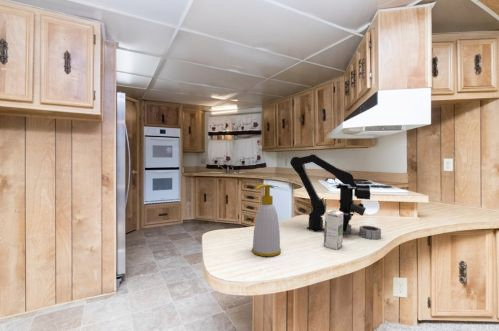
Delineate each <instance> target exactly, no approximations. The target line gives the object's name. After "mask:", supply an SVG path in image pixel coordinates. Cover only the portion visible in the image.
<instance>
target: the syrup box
mask: <svg viewBox="0 0 499 331" xmlns="http://www.w3.org/2000/svg"><path fill="white" fill-rule="evenodd" d="M323 229H324V230H323V232H324V234H323V247H326V248H329V249H333V250H339V249H340V248H341V247H342V246H343V235H344V234H343V212H340V211H339V210H335V209H331V210H330V209H329V210H328V211H325V214H324V228H323Z"/></svg>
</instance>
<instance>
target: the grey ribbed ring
mask: <svg viewBox="0 0 499 331" xmlns="http://www.w3.org/2000/svg"><path fill="white" fill-rule="evenodd" d="M358 231H359V237H361V238H363V239H365V240H366V239H367V240H374V241H375V240H376V241H377V240H381V238H382V228H379V227H378V226H372V225H360V226H359V230H358Z"/></svg>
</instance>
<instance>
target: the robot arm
mask: <svg viewBox="0 0 499 331" xmlns="http://www.w3.org/2000/svg"><path fill="white" fill-rule="evenodd" d="M310 163H313V164H315V165H316V166H318V167H320V168H321V169H323V170H325V171H327V172H328V173H330V174H331V175H333V176H334V177H335V178H336V179H337V180H338V181H339V182H340V183H339V184H338V185H337V186H336V187H335V188H336V189H339V200H338V202H339V208H338V211H340V212H343V231H345V232H346V229H347V225H348V224H350V221H351V220H352V219H353V218H352V217H353V216H354V215H355V213H356V214H358V215H359V216H364V215H365V212H366V207H364V204H363V203H362V202H360V203H359V204H357V203H355V200H354V198H353V196H354V197H355V198H356V199H357V200H371V185H369V184H357V182H356V181H355V180H354V176H353V174H352V173H351V172H350V171H348V170H344V169H341V168H339V167H336V166H335V165H333V164H331V163H330V162H328V161H326V160H324V159H322V158H321V157H319V156H318V155H317V154H316V153H313V154H312V153H311V154H310V155H306V156H302V157H301V156H293V157H292V158H291V159H290V163H289V165H290V166H291V167H292V169H293V170H294V171H295V172H296V173H297V175H298V177H299V179H300V180H301V183H302V185H303V187H304V189H305V191H306V193H307V195H308V196H309V199H310V202H311V208H312V210H311V211H310V212H309V213H308V226H307V227H306V229H307V230H310V231H312V232H320V231H324V229H325V228H324V220H323V216H325V212H327V202H325V199H324V197H322V198H320V196H319V195H318V193H317V191H316V188H315V187H314V185H313V183H312V181H311V179H310V176H309V175H308V173H307V170H306V169H307V168H306V164H310ZM349 186H350V187H349Z"/></svg>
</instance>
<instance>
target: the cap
mask: <svg viewBox="0 0 499 331" xmlns="http://www.w3.org/2000/svg"><path fill="white" fill-rule="evenodd" d="M343 235H347V236H348V235H352V224H350V223H349V224H348V225H347V229H346V232H345V231H343Z"/></svg>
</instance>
